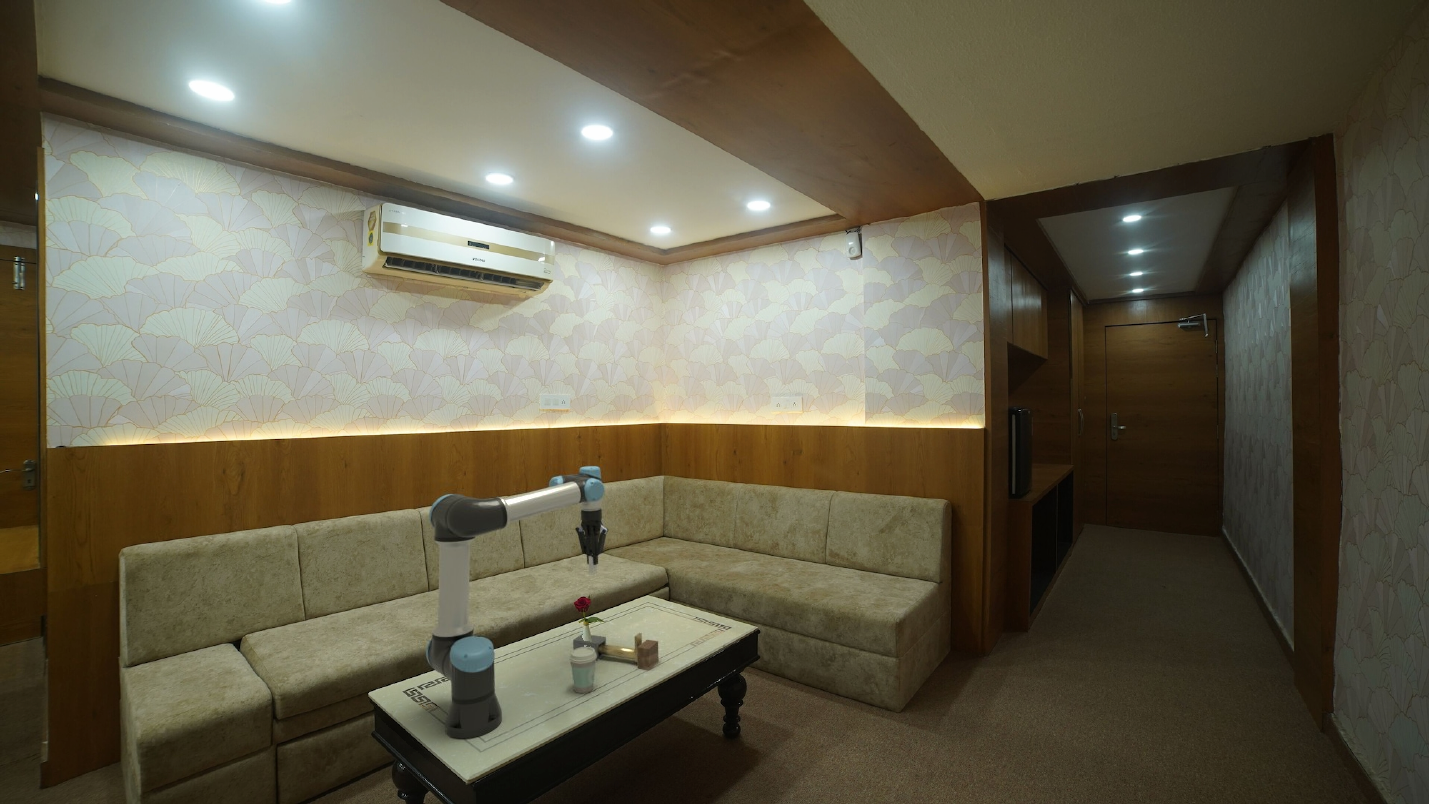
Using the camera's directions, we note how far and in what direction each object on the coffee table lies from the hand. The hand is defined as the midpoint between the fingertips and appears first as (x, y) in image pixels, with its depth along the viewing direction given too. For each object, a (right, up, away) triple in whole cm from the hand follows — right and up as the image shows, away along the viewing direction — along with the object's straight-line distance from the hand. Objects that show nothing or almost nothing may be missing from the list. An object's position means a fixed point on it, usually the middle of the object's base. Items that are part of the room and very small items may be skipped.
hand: (592, 573), depth 219 cm
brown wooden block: (+21, -29, -10) cm, 37 cm away
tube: (+10, -28, -6) cm, 30 cm away
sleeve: (-1, -29, -1) cm, 29 cm away
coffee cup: (+2, -30, -26) cm, 40 cm away
